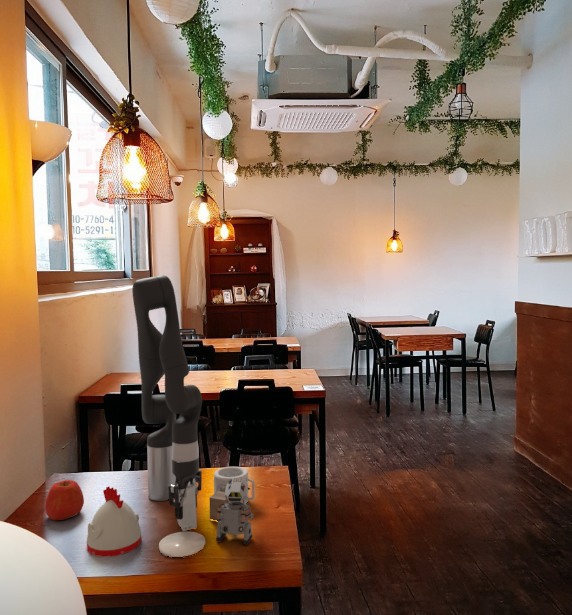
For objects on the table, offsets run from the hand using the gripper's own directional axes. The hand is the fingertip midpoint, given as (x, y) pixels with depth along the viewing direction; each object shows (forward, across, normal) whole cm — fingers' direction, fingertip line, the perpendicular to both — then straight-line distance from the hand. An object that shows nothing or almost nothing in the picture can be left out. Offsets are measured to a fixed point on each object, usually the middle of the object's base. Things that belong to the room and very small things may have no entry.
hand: (186, 513), depth 151 cm
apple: (+4, +7, -38) cm, 39 cm away
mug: (+4, -19, +6) cm, 20 cm away
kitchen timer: (+4, +15, -13) cm, 20 cm away
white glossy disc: (+4, +10, +5) cm, 12 cm away
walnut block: (+4, -8, +7) cm, 11 cm away
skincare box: (+4, 0, 0) cm, 4 cm away
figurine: (+4, 0, +16) cm, 17 cm away
